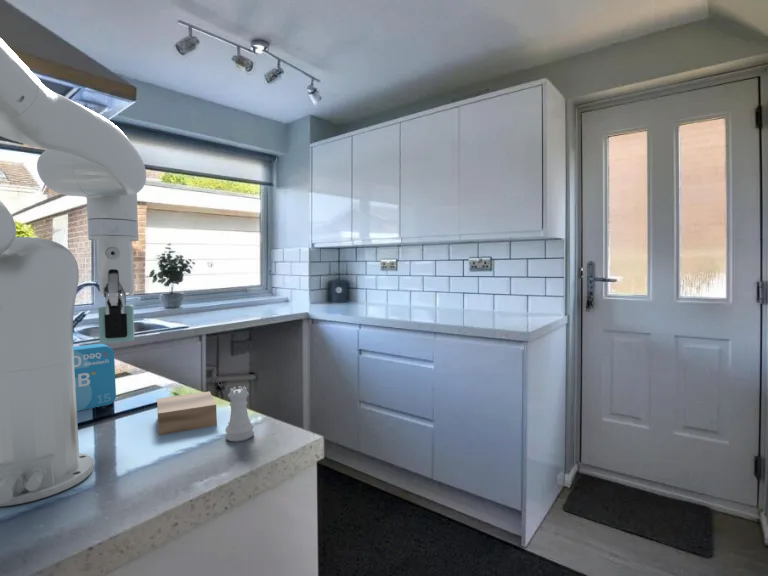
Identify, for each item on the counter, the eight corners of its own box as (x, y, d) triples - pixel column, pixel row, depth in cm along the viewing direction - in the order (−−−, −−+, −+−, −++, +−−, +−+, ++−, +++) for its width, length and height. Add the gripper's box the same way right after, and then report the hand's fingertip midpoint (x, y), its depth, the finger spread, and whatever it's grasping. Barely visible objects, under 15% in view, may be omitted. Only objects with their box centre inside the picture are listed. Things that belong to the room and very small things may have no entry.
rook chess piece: (221, 436, 72) (219, 388, 71) (247, 429, 75) (246, 383, 74) (231, 445, 68) (229, 394, 68) (258, 437, 71) (257, 388, 71)
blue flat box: (42, 418, 81) (38, 354, 80) (39, 412, 85) (35, 350, 84) (116, 403, 89) (113, 345, 89) (111, 398, 93) (108, 342, 92)
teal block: (133, 340, 77) (132, 306, 77) (99, 343, 74) (98, 307, 74) (134, 337, 81) (133, 304, 81) (102, 339, 79) (101, 306, 79)
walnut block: (216, 427, 77) (216, 404, 77) (159, 437, 73) (158, 413, 72) (210, 411, 85) (209, 391, 85) (157, 420, 81) (156, 398, 80)
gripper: (137, 228, 71) (141, 340, 72) (139, 236, 86) (142, 328, 87) (81, 226, 68) (86, 344, 69) (93, 235, 83) (97, 331, 84)
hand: (117, 334), depth 78 cm, fingers closed on teal block, 5 cm apart
